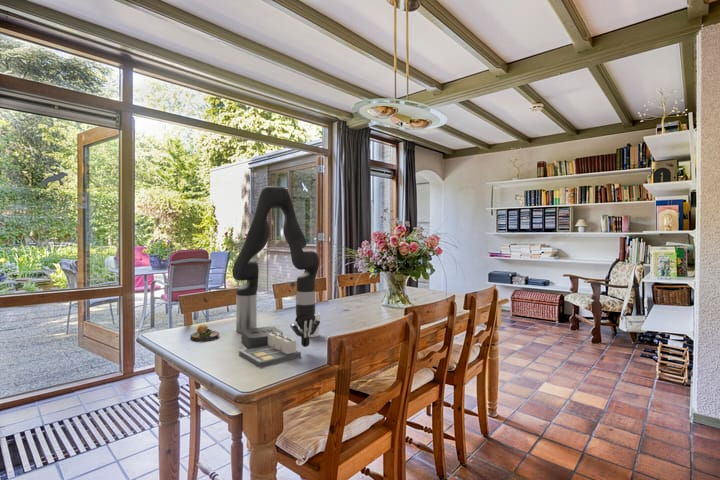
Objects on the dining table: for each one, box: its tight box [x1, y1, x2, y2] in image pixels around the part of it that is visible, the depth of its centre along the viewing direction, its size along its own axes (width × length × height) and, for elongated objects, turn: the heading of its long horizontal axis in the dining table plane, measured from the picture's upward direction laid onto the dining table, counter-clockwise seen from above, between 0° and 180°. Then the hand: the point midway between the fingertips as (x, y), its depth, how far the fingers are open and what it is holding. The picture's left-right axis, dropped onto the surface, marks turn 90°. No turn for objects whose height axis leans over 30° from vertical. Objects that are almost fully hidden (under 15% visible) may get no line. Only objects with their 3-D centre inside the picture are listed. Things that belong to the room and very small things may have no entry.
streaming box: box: [241, 326, 284, 349], centre depth 158 cm, size 14×14×5 cm
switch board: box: [238, 345, 302, 368], centre depth 143 cm, size 16×17×2 cm
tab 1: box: [268, 332, 281, 347], centre depth 150 cm, size 4×4×5 cm
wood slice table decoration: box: [190, 324, 220, 342], centre depth 165 cm, size 12×12×8 cm
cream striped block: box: [282, 337, 297, 354], centre depth 142 cm, size 4×4×5 cm
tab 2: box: [275, 334, 289, 351], centre depth 146 cm, size 4×4×5 cm
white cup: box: [309, 311, 321, 338], centre depth 171 cm, size 8×8×10 cm
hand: (305, 346), depth 147 cm, fingers closed
